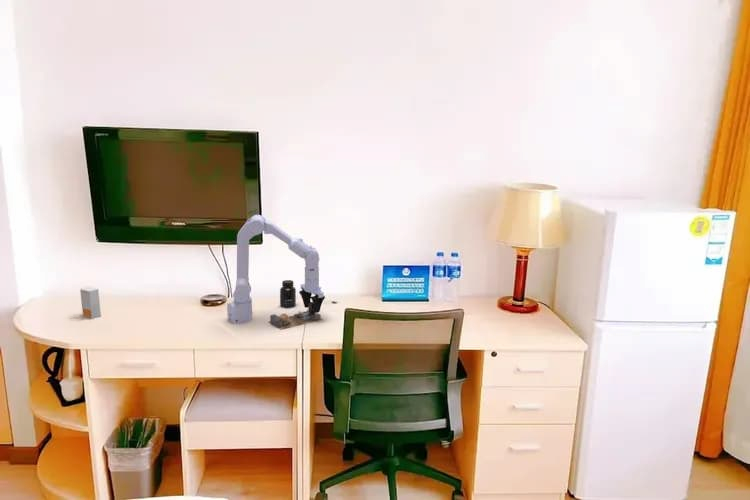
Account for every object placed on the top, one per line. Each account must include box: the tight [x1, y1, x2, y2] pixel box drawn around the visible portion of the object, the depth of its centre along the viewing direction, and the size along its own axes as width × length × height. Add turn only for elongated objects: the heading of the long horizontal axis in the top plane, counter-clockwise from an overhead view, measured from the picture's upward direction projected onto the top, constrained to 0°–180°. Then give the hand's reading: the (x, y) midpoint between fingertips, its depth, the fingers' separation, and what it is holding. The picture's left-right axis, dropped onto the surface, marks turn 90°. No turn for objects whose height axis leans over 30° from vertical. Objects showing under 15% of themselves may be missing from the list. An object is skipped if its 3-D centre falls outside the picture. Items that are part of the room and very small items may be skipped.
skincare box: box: [79, 286, 102, 320], centre depth 229 cm, size 6×4×12 cm
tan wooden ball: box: [278, 313, 290, 324], centre depth 224 cm, size 4×4×4 cm
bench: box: [267, 310, 324, 331], centre depth 227 cm, size 20×11×4 cm, turn 128°
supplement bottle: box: [279, 279, 297, 309], centre depth 244 cm, size 7×7×12 cm
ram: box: [297, 301, 319, 318], centre depth 230 cm, size 7×4×6 cm, turn 128°
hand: (312, 309), depth 231 cm, fingers open, 7 cm apart
